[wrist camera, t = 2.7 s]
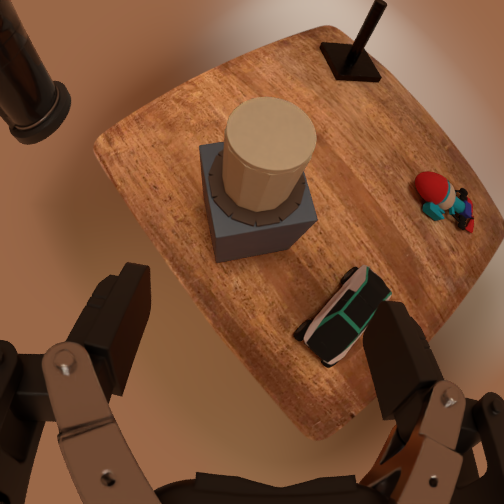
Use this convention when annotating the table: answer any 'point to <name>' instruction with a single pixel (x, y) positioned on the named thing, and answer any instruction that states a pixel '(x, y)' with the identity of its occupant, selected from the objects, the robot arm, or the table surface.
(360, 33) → the hat stand
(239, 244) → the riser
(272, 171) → the hat
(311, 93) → the table surface
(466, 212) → the toy figure
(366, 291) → the toy car
